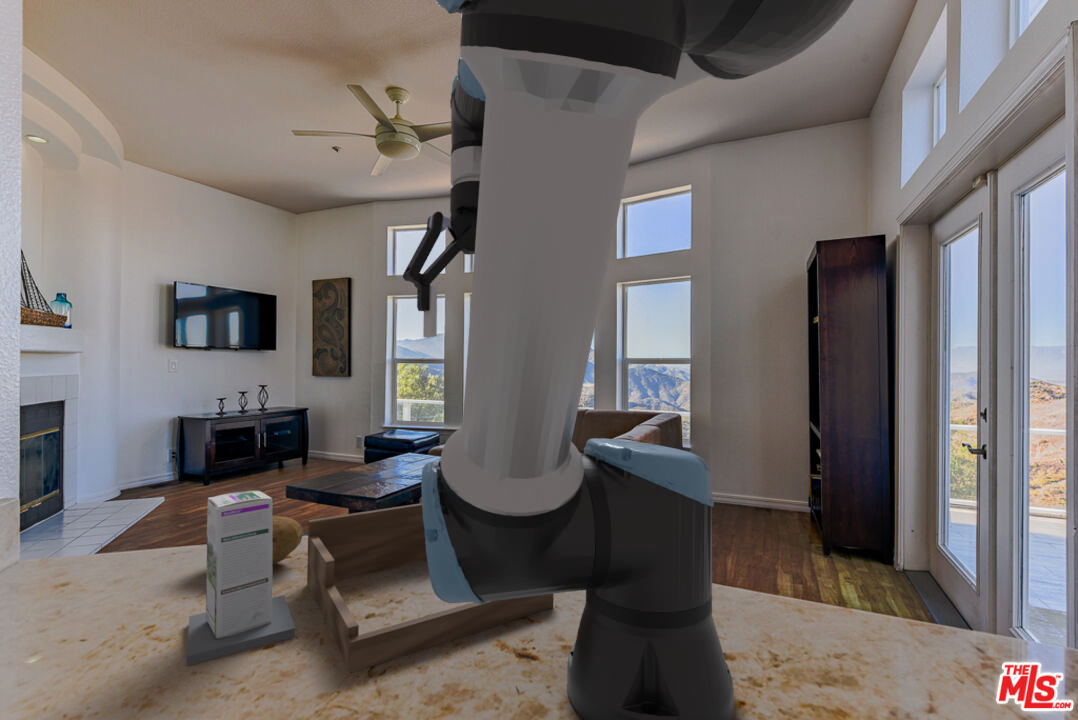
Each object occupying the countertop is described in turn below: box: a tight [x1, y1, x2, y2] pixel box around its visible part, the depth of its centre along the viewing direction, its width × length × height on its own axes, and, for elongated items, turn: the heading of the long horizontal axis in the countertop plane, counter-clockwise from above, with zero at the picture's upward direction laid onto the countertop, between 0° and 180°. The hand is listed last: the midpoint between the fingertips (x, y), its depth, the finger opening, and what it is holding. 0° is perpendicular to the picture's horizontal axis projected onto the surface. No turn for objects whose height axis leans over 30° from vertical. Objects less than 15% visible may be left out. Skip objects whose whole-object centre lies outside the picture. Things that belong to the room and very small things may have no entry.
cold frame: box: [306, 502, 554, 674], centre depth 66 cm, size 25×25×9 cm
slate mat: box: [186, 594, 296, 667], centre depth 57 cm, size 10×10×1 cm
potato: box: [204, 515, 304, 565], centre depth 76 cm, size 10×14×8 cm
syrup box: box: [205, 489, 273, 639], centre depth 57 cm, size 6×6×14 cm
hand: (476, 339), depth 68 cm, fingers open, 13 cm apart
